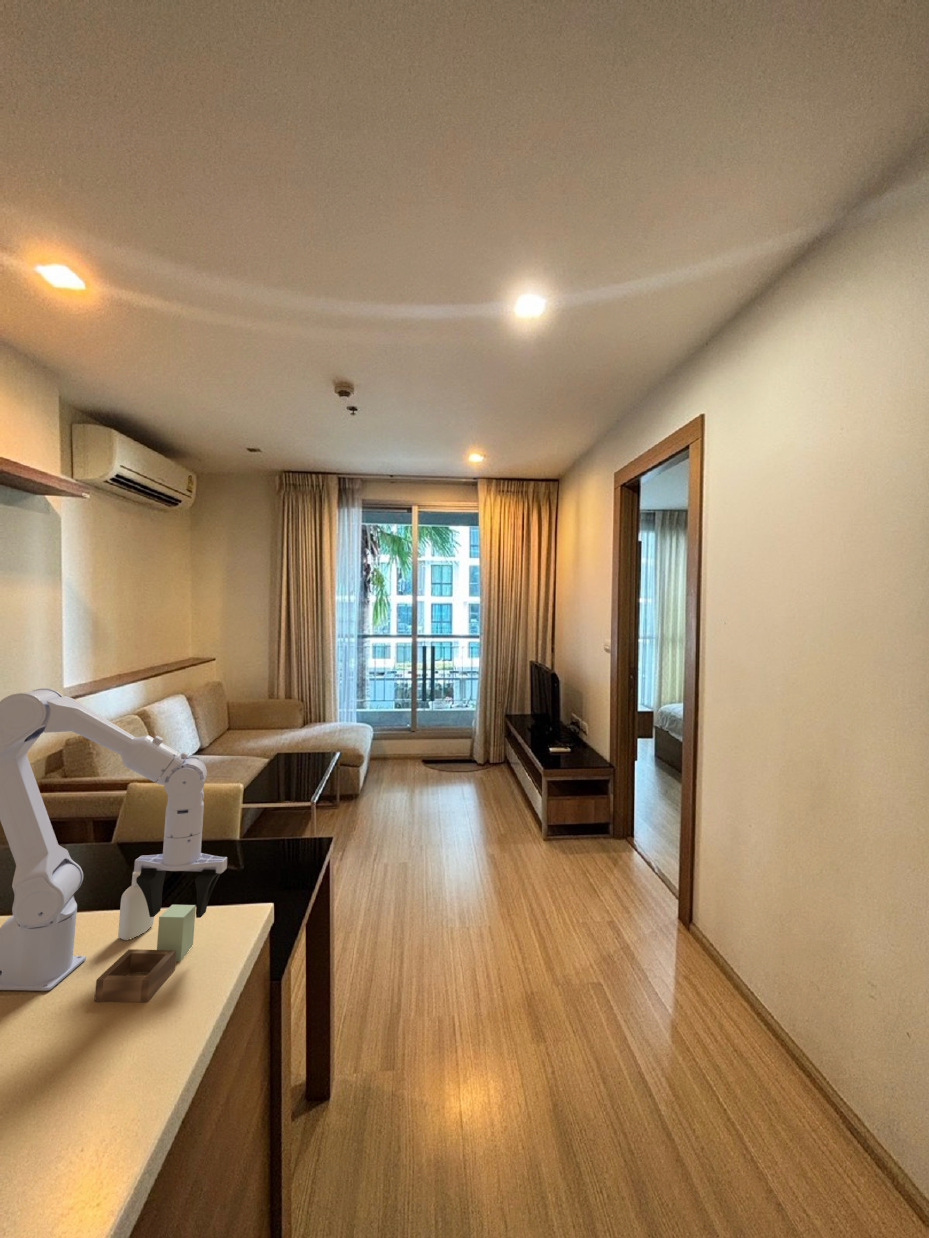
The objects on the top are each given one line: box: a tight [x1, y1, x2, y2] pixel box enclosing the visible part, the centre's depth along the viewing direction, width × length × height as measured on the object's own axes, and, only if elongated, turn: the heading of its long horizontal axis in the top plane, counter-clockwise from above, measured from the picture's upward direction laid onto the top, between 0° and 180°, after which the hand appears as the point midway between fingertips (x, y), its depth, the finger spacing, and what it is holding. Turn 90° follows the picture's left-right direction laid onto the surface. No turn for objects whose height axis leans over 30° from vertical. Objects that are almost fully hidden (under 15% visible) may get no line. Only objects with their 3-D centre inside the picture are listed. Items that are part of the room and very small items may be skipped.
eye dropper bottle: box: [117, 871, 155, 941], centre depth 91 cm, size 4×6×12 cm
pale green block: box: [156, 904, 196, 962], centre depth 86 cm, size 4×4×7 cm
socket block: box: [94, 948, 177, 1003], centre depth 77 cm, size 8×8×3 cm
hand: (178, 914), depth 86 cm, fingers open, 7 cm apart
